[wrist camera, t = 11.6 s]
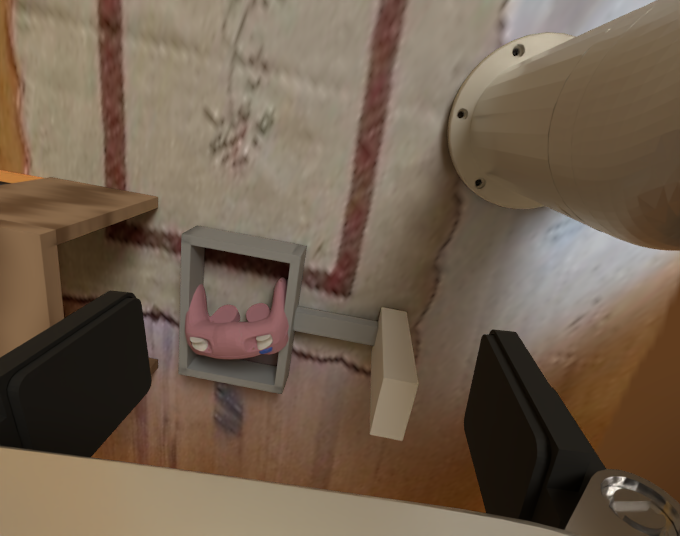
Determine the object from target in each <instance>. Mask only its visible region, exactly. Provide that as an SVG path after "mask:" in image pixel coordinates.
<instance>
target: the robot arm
mask: <svg viewBox="0 0 680 536" xmlns="http://www.w3.org/2000/svg"><path fill="white" fill-rule="evenodd" d="M513 49H516V50H517V51H518V54H517V56H513V54H512V51H513ZM460 111H461V112H463V117H462V118H461V119H460V118H458V116H457V114H458V112H460ZM447 137H448V149H449V153H450V157H451V160H452V164H453V166H454V167H455V169H456V171H457V173H458V175H459V177H460V178H461V179H462V181H463V182H464V183H465V184H466V186H467V187H468V188H469V189H471V190H472V191H473V192H474V193H475V194H477V195H478V196H479V197H481V198H483V199H485V200H486V201H488V202H491V203H493V204H496V205H498V206H501V207H506V208H512V209H533V208H538V207H544V206H547V207H549V208H551V209H553V210H555V211H557V212H559V213H562V214H564V215H566V216H568V217H570V218H572V219H574V220H577V221H579V222H581V223H583V224H585V225H587V226H590V227H592V228H594V229H596V230H598V231H601V232H604V233H606V234H608V235H611V236H613V237H615V238H618V239H620V240H623V241H626V242H629V243H632V244H634V245H638V246H642V247H647V248H652V249H659V250H675V251H680V0H656V1H654V2H652V3H650V4H648V5H646V6H644V7H641V8H639V9H637V10H634V11H632V12H630V13H628V14H625V15H623V16H621V17H619V18H617V19H614V20H612V21H610V22H608V23H606V24H603V25H601V26H599V27H597V28H595V29H592V30H590V31H588V32H586V33H584V34H581V35H579V36H577V37H575V36H572V35H568V34H565V33H551V32H545V33H538V34H532V35H527V36H524V37H522V38H519V39H516V40H513V41H511V42H509V43H507V44H505V45H503V46H502V47H500V48H498V49H497V50H495V51H494V52H492V53H491V54H490V55H488V56H487V57H486V58H484V59H483V60H482V61H481V62H480V63H479V64H478V65H477V66H476V67H475V68H474V69H473V70H472V71H471V73H470V74H469V76H468V77H467V78H466V80H465V81H464V83H463V84H462V85H461V87H460V89H459V91H458V93H457V95H456V98H455V100H454V102H453V105H452V109H451V112H450V116H449V122H448V131H447ZM477 179H480V184H479V185H476V184H475V181H476V180H477ZM150 386H151V372H150V364H149V357H148V350H147V342H146V335H145V327H144V320H143V312H142V305H141V302H140V300H139V299H137V298H136V297H135V295H134V294H133V293H128V292H118V291H109V292H107V293H105V294H103V295H102V296H100V297H99V298H97V299H95V300H94V301H92V302H90V303H89V304H87V305H85V306H84V307H82V308H80V309H79V310H77V311H76V312H74V313H72V314H71V315H69V316H67V317H66V318H64V319H62V320H61V321H59V322H58V323H56V324H54V325H53V326H51V327H49V328H48V329H46V330H44V331H43V332H41V333H40V334H38V335H36V336H35V337H33V338H31V339H30V340H28V341H26V342H25V343H23V344H22V345H20V346H18V347H17V348H15V349H13V350H12V351H10V352H8V353H7V354H5V355H3V356H2V357H0V536H680V504H679V503H678V502H677V501H676V500H675V499H673V498H672V497H671V496H670V495H669V494H667V493H666V492H665V491H664V490H663V489H661V488H659V487H658V486H656V485H655V484H653V483H651V482H650V481H648V480H646V479H643V478H641V477H639V476H637V475H634V474H632V473H629V472H625V471H621V470H614V469H606V468H605V466H604V465H603V463H602V462H601V460H600V459H599V457H598V456H597V454H596V452H595V451H594V449H593V448H592V446H591V445H590V443H589V442H588V440H587V438H586V437H585V435H584V434H583V432H582V431H581V429H580V428H579V426H578V425H577V423H576V421H575V420H574V418H573V417H572V415H571V414H570V412H569V411H568V409H567V408H566V406H565V404H564V403H563V401H562V400H561V398H560V397H559V395H558V394H557V392H556V391H555V390H554V389H553V388H552V387H551V386H550V385H549V383H548V382H547V380H546V378H545V377H544V375H543V374H542V372H541V371H540V369H539V367H538V366H537V364H536V363H535V361H534V360H533V358H532V356H531V355H530V353H529V352H528V350H527V349H526V347H525V345H524V344H523V342H522V341H521V339H520V338H519V336H518V334H517V333H516V332H511V331H501V330H491V331H490V333H489V335H486V334H484V335H483V336H482V339H481V343H480V347H479V352H478V357H477V361H476V366H475V371H474V375H473V380H472V384H471V389H470V394H469V398H468V403H467V408H466V412H465V417H464V430H465V434H466V438H467V442H468V445H469V449H470V453H471V457H472V460H473V464H474V468H475V472H476V476H477V479H478V483H479V487H480V491H481V494H482V498H483V502H484V506H485V509H486V513H487V514H486V513H481V512H475V511H470V510H464V509H458V508H451V507H444V506H437V505H430V504H423V503H416V502H409V501H402V500H395V499H388V498H381V497H374V496H367V495H360V494H353V493H346V492H339V491H332V490H325V489H318V488H311V487H304V486H297V485H290V484H283V483H276V482H269V481H262V480H254V479H247V478H240V477H233V476H225V475H218V474H211V473H203V472H196V471H189V470H181V469H174V468H167V467H159V466H152V465H144V464H137V463H129V462H122V461H114V460H106V459H99V458H91V456H92V455H93V454H94V453H95V452H96V451H97V449H98V448H99V447H100V446H101V445H102V444H103V443H104V442H105V440H106V439H107V438H108V437H109V436H110V435H111V434H112V432H113V431H114V430H115V429H116V428H117V427H118V426H119V424H120V423H121V422H122V421H123V420H124V419H125V418H126V416H127V415H128V414H129V413H130V412H131V411H132V410H133V408H134V407H135V406H136V405H137V404H138V403H139V402H140V400H141V399H142V398H143V397H144V396H145V395H146V394H147V392H148V391H149V389H150Z"/></svg>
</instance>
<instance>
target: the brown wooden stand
mask: <svg viewBox="0 0 680 536" xmlns="http://www.w3.org/2000/svg"><path fill="white" fill-rule="evenodd" d="M156 208H158V197H156V196H150V195H145V194H139V193H134V192H129V191H123V190H118V189H112V188H107V187H101V186H96V185H91V184H85V183H80V182H74V181H69V180H63V179H58V178H53V177H50V178H43V179H37V180H30V181H24V182H17V183H11V184H4V185H0V357H2V356H3V355H5V354H7V353H8V352H10V351H12V350H13V349H15V348H17V347H18V346H20V345H22V344H23V343H25V342H26V341H28V340H30V339H31V338H33V337H35V336H36V335H38V334H40V333H41V332H43V331H44V330H46V329H48V328H49V327H51V326H53V325H54V324H56V323H58V322H59V321H61V320H62V319H64V312H63V302H62V291H61V281H60V271H59V260H58V250H57V245H59V244H61V243H64V242H67V241H69V240H72V239H75V238H78V237H80V236H83V235H86V234H88V233H91V232H94V231H96V230H99V229H102V228H105V227H107V226H110V225H113V224H115V223H118V222H121V221H123V220H126V219H129V218H132V217H134V216H137V215H140V214H142V213H145V212H148V211H150V210H153V209H156ZM149 364H150V372H151V375H152V373H153V372H154V371H155V370H156V369H157V368H158V360H157V359H152V358H149Z"/></svg>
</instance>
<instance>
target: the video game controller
mask: <svg viewBox="0 0 680 536" xmlns="http://www.w3.org/2000/svg"><path fill="white" fill-rule="evenodd" d="M287 285H288V281H287V280H286V279H285V278H283V277H282V278H280V279H279V280H278V281H277V283H276V286H275V288H274V295H273V303H272V307H271V311H270V309H269V307H268V306H267V305H266V304H263V303H259V304H255V305H253V306H251V307H250V308H249V309H248V310H247V313H246V317H247V320H248V322H239V321H240V315H239V312H238V310H237V308H236V307H235V306H233V305H224V306H222V307H220V308H219V309H218V310H217V311H216V312H215V313H214V314H213V315H212V316H211V317H210V316H209V314H208V311H207V302H206V294H205V289H204V287H203V285H202V284H200V285H199V286H198V287H197V289H196V291H195V293H194V295H193V298H192V301H191V304H190V307H189V311H188V312H187V313H186V318H185V335H186V340H187V343H188V345H189V346H190V347H191V349H192V350H193V352H195V353H196V354H198V355H205V356H208V357H212V358H217V359H243V358H249V357H254V356H258V355H261V354H266V355H269V354H274V353H277V352H279V351H280V350H282V349H283V348H284V347H285V346H286V344H287V342H288V339H289V338H288V328H289V325H288V320H287V317H286V314H285V312H284V308H285V300H286V293H287Z"/></svg>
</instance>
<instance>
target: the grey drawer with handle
mask: <svg viewBox="0 0 680 536" xmlns="http://www.w3.org/2000/svg"><path fill="white" fill-rule="evenodd" d="M205 248H211V249H216V250H221V251H227V252H232V253H237V254H243V255H248V256H254V257H259V258H264V259H270V260H275V261H280V262H286V263H290V269H289V277H288V285H287V293H286V300H285V308H284V312H285V314H286V317H287V320H288V325H289V328H288V338H289V339H288V342H287V344H286V346H285V347H284V348H283V349H282V350H280V351H279V355H278V363H277V367H276V366H271V365H266V364H261V363H255V362H250V361H245V360H240V359H217V358H212V357H208V356H205V355H198V354H196V353H195V352H193V350H192V349H191V347H190V346H189V345H188V343H187V340H186V335H185V318H186V313H187V312H188V311H189V307H190V304H191V301H192V298H193V295H194V293H195V291H196V289H197V287H198V286H199V285H200V284H202V285H203V274H204V252H205ZM306 248H307V246H305V245H299V244H294V243H288V242H283V241H278V240H272V239H267V238H261V237H256V236H251V235H245V234H240V233H235V232H229V231H224V230H218V229H213V228H208V227H202V226H195V227H193V228H192V229H190V230H188V231H186V232H184V233H183V234H182V241H181V285H180V330H179V374H181V375H186V376H191V377H196V378H201V379H207V380H212V381H217V382H222V383H227V384H232V385H237V386H242V387H248V388H253V389H258V390H263V391H268V392H273V393H278V394H282V392H283V389H284V387H285V384H286V381H287V378H288V375H289V368H290V361H291V354H292V347H293V340H294V333H295V331H298V332H304V333H309V334H314V335H319V336H325V337H330V338H335V339H340V340H346V341H351V342H356V343H361V344H366V345H372V346H373V347H372V351H371V393H370V435H374V436H380V437H385V438H390V439H395V440H400V441H403V438H404V434H405V431H406V427H407V424H408V420H409V417H410V413H411V410H412V406H413V403H414V399H415V396H416V392H417V389H418V385H419V383H418V377H417V371H416V365H415V359H414V353H413V347H412V341H411V335H410V329H409V323H408V317H407V312H405V311H400V310H395V309H389V308H384V307H381V311H380V316H379V320H378V321H373V320H368V319H363V318H358V317H352V316H347V315H342V314H336V313H331V312H326V311H321V310H315V309H310V308H305V307H299V306H298V304H299V297H300V290H301V283H302V276H303V269H304V262H305V255H306Z"/></svg>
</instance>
